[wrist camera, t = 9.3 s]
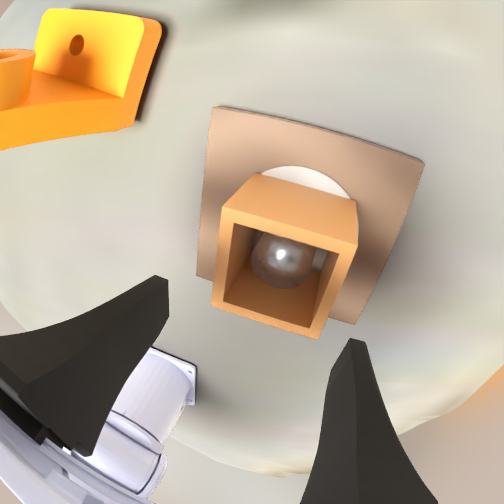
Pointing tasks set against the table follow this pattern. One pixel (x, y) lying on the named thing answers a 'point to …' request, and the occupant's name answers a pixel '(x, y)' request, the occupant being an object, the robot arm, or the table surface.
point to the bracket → (75, 76)
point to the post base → (315, 176)
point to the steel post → (282, 261)
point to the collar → (289, 226)
